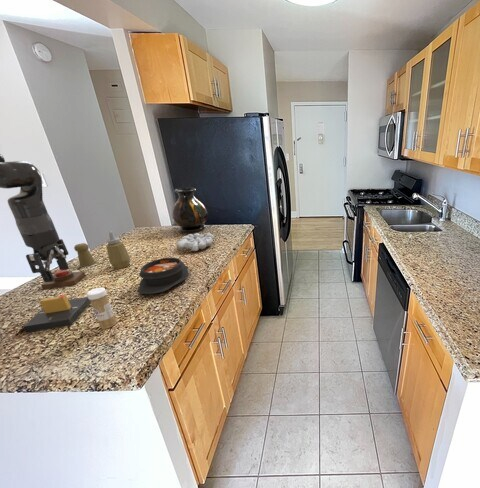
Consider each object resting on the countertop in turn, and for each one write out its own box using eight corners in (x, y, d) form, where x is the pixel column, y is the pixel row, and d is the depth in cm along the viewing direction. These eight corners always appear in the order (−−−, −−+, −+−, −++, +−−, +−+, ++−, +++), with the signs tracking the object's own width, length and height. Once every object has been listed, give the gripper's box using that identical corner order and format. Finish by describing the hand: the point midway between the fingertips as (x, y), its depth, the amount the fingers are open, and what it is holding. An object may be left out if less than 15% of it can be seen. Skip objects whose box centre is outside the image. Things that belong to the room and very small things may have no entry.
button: (54, 277, 110) (53, 273, 110) (59, 273, 113) (58, 270, 113) (65, 276, 111) (63, 272, 111) (69, 272, 115) (68, 268, 114)
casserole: (159, 269, 125) (154, 253, 122) (198, 268, 126) (195, 252, 123) (125, 298, 102) (119, 280, 99) (174, 297, 103) (169, 278, 100)
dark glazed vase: (207, 233, 173) (200, 191, 162) (172, 236, 168) (161, 193, 157) (211, 223, 192) (205, 185, 182) (179, 226, 187) (171, 187, 176)
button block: (43, 289, 108) (39, 281, 107) (55, 279, 116) (52, 271, 115) (75, 285, 111) (72, 277, 110) (85, 275, 119) (82, 267, 118)
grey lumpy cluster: (172, 245, 153) (170, 235, 151) (208, 236, 166) (207, 228, 164) (182, 256, 138) (180, 246, 136) (221, 246, 151) (220, 237, 149)
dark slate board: (25, 332, 84) (22, 326, 83) (52, 308, 96) (49, 302, 95) (71, 325, 87) (68, 318, 86) (91, 302, 100) (88, 296, 99)
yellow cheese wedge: (45, 313, 89) (38, 300, 87) (48, 310, 91) (42, 297, 89) (68, 309, 91) (63, 297, 89) (71, 307, 93) (65, 294, 91)
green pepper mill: (94, 265, 129) (86, 245, 125) (78, 268, 126) (70, 247, 122) (97, 260, 134) (89, 241, 130) (81, 263, 131) (73, 243, 127)
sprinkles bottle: (96, 329, 85) (82, 294, 80) (107, 320, 90) (94, 286, 84) (110, 329, 85) (96, 294, 80) (120, 320, 90) (108, 287, 84)
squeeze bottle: (107, 269, 125) (95, 234, 118) (123, 262, 132) (112, 228, 126) (120, 271, 123) (109, 235, 117) (136, 263, 131) (125, 229, 124)
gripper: (37, 223, 85) (56, 267, 91) (4, 238, 73) (28, 288, 79) (65, 221, 87) (82, 264, 94) (38, 235, 75) (59, 284, 81)
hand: (57, 275), depth 86 cm, fingers open, 8 cm apart
